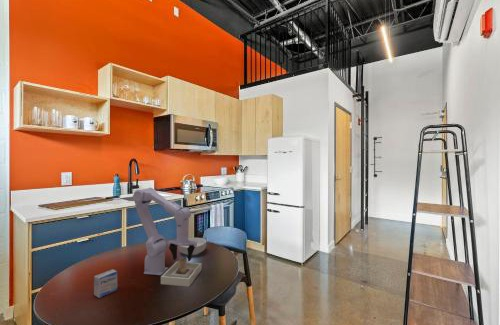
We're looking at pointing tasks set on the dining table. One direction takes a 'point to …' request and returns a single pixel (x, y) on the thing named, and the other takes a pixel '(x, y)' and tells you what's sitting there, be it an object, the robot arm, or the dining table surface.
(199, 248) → the cereal bowl
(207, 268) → the dining table surface
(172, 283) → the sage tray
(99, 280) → the medicine box
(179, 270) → the birch peg
